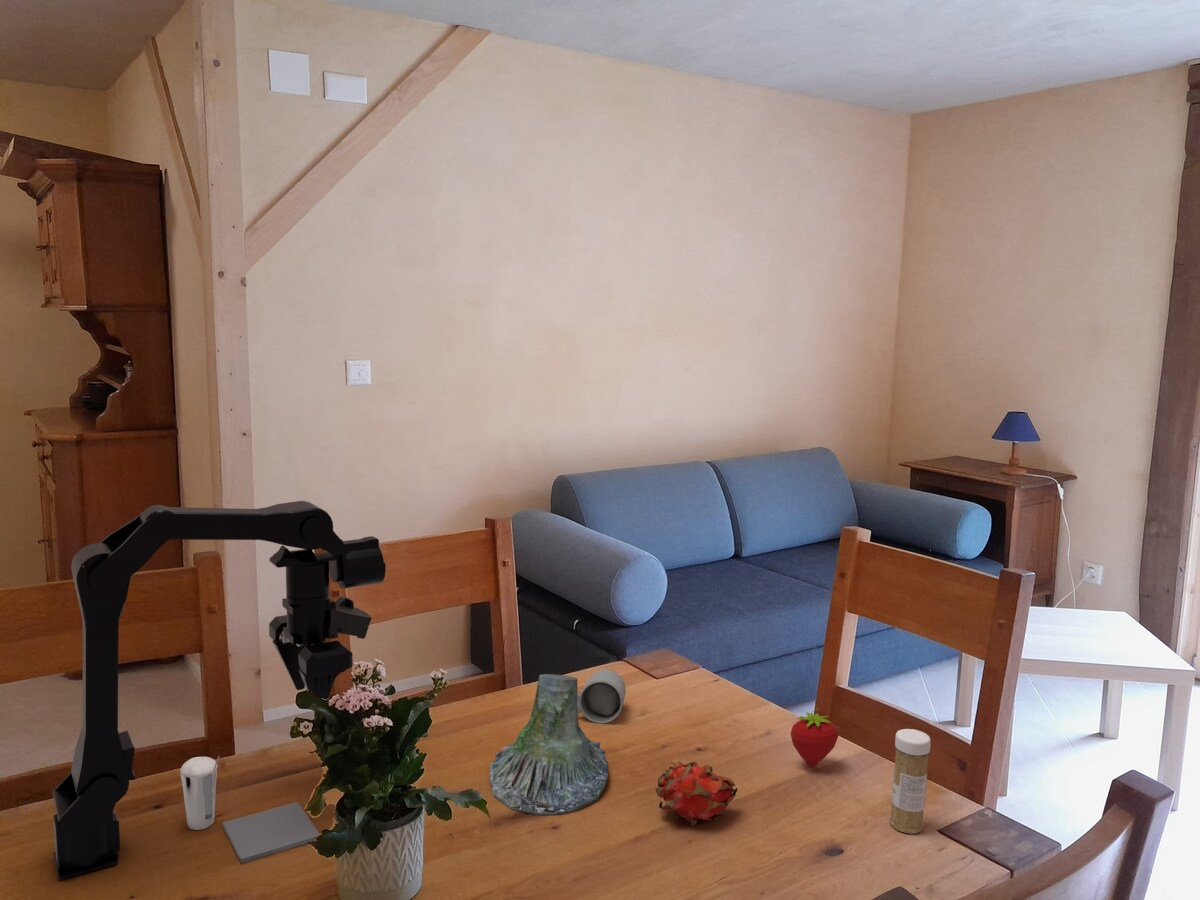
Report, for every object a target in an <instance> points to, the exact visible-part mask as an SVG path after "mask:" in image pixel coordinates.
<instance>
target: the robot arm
mask: <svg viewBox="0 0 1200 900" xmlns="http://www.w3.org/2000/svg"><path fill="white" fill-rule="evenodd" d="M170 540H172V541H173V540H175V541H179V540H180V541H182V540H184V541H185V540H186V541H189V540H190V541H193V540H194V541H197V540H198V541H203V540H204V541H218V540H219V541H264V542H270V543H273V544H276V545H277V544H278V545H281V546H280V547H279V549H278V551H276V552H275V553H274V554H273V555H271V556H270V557H269V560H268V561H269V562H270V563H271V564H272V565H274V566H275V567H276V568H279V569H280V568H285V582H286V583H285V590H286V591H285V592H286V593H285V594H286V598H282V599H281V601H282V603H281V604H282V607H283V608H284V609H285V610H286V615H279V616H275V617H274V618H273V619H272V620H271V621H270V622H269V623H268V633H269V634H268V635H269V637H270V638H271V640H272V644H273V646H274V647H275V649H276V651H277V654H278V655H279V657H280V659H281V661H282V663H283V665H284V667H285V669H286V672H287V674H288V676H289V677H290V679H291V682H292V683H293V685H294V688H295V689H296V690H297V691H302V690H304V689H306V691H307V692H308V691H310V692H312V693H313V694H314V695H316V696H318V697H320V698H323V699H327V698H328V697H329V698H330V696H331V693H332V689H333V685H334V683H335V680H336V679H337V677H338V676H339V675H340V674H341V673H344V672H347V671H348V669H351V668H353V667H354V666H353V665H354V663H353V652H352V651H351V650H350V649H348V648H347V646H345V645H344V644H342V643H341V642H340V641H339V640H333V639H338V638H339V634H341V635H348V636H353V637H356V638H358V639H360V640H361V639H363V640H364V639H366V637H367V633H368V630H369V628H370V625H371V622H372V619H373V618H372V616H371V615H370V614H369V613H367V612H366V611H364V610H362V609H360V608H359V607H355V605H354V601H353V600H352V599H351V598H349V597H346V596H339V598H337V599H336V601H334V600H333V599H332V598H331V596H330V593H331V592H330V580H331V582H332V583H335V584H336V583H337V585H338V586H339V588H340V589H350V588H357V587H363V586H370V585H377V584H381V583H384V579H385V576H386V572H387V571H386V567H387V565H386V562H385V561H384V560H385V559H384V557H383V552H382V550H381V548H380V540H379V538H378V537H375V536H365V537H361V538H358V539H350V540H349V539H348V540H344V539H341V538H340V537H339V535H338V534H337V533H336V532H335V531H334V522H333V520H332V516H331V515H330V514H329V513H328V512H327V510H324V509H322V508H321V507H319V506H317V505H315V504H313V503H312V502H310V501H306V500H296V501H291V502H282V503H277V504H273V505H270V506H269V505H268V506H267V507H262V508H261V507H260V508H234V507H233V508H231V507H230V508H227V507H225V508H224V507H223V508H222V507H221V508H220V507H218V508H217V507H185V506H184V507H183V506H182V507H181V506H180V507H179V506H174V507H173V506H165V505H161V504H155V505H154V504H153V505H151V506H149V507H146V508H145V509H144V510H143V511H142V512H140V514H139V515H137V516H136V517H135V518H133V519H132V520H130V521H129V522H127V523H125V524H124V525H122V526H120V527H119V528H117V529H116V530H114V531H112V532H111V533H110V534H108V535H107V536H106V537H105V538H104V539H102V540H101V541H100V542H95V543H91V544H88V545H85V546H84V547H82V548H81V549H80V550H79V551H78V552H77V553H76V554H74V555H73V558H72V561H71V566H70V569H71V573H72V574H71V575H72V580H73V583H74V584H73V585H74V589H75V594H76V597H77V601H78V605H79V606H78V607H79V610H80V614H81V619H82V723H81V724H82V726H81V730H80V733H79V735H78V739H77V742H76V745H75V748H74V754H73V759H72V763H71V769H70V772H69V773H68V774H67V775H66V776H65V777H64V778H63V780H62V781H61V782H60V783H59V784H58V785H57V786H56V787H54V789H53V791H52V795H53V799H54V807H55V811H56V814H54V815H52V816H53V828H54V829H53V830H54V831H53V832H54V846H55V848H54V849H55V851H54V852H53V857H54V864H55V869H56V875H57V879H58V880H60V881H61V880H62V881H63V880H65V879H69V878H73V877H76V876H80V875H83V874H86V873H90V872H93V871H97V870H100V869H104V868H108V867H112V866H115V865H116V864H118V863H119V857H118V853H119V852H121V835H120V833H121V832H120V820H119V818H118V817H119V816H118V814H117V813H116V812H114V810H115V806H116V804H117V803H118V802H119V801H120V800H121V799H123V798H124V796H126V794H127V793H128V791H129V787H130V786H129V785H130V781H135V780H136V776H135V773H134V771H133V763H134V758H135V751H136V748H135V746H134V743H133V740H132V738H131V736H130V733H129V731H128V730H124V731H122V732H119V624H120V620H121V616H122V613H123V611H124V608H125V605H126V602H127V599H128V598H127V597H128V592H129V588H130V582H131V577H132V576H133V575H134V574H136V573H137V572H138V571H139V570H140V569H142V568H143V566H145V565H146V563H147V562H148V561H149V560H150V559H151V558H153V556H154V555H155V554H156V552H158V551H159V549H160V548H161V547H162V546H163V545H165V543H167V542H168V541H170ZM287 547H290V548H297V549H295V550H289V549H288V548H287ZM318 549H321V550H323V552H316V553H315V552H314V551H313V550H318ZM324 551H325V552H324ZM327 639H329V640H332V641H326V640H327Z"/></svg>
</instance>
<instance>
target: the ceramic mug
mask: <svg viewBox="0 0 1200 900" xmlns="http://www.w3.org/2000/svg"><path fill="white" fill-rule="evenodd" d="M625 683H626V682H625V681H624V679H623V677H622V676H621V675H620V674H619V673H618V672H616V671H614V670H611V669H599V670H597V671H595V672H594V673H592V674H591V675H590V676H589V677H588V679H587V680H586V682H585V684H584V686H583V687H582V689H581V691H580V693H579V694H577V709H578V714H580V713H581V714H583V716H584V717H585V718H586V719H587V720H589V721H591V722H593V723H595V724H609V723H611V722H612V721H614V720H616V719H617V718H618V717H619V716H620V714H621V712H622V709H623V705H624V702H625V699H626V693H627V690H626V685H625Z"/></svg>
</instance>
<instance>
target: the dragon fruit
mask: <svg viewBox="0 0 1200 900" xmlns="http://www.w3.org/2000/svg"><path fill="white" fill-rule="evenodd" d="M672 765H673V766H669V769H666V770H665V772H663V773H662V774H661V775H660V776H659V777H658V778H657V786H658V787H657V788H656V787H654V788H655V789H654V790H655V792H656V795H657V796H658V797H659V798H663V801H665V804H664V805H663V801H662V800H661V801H660V802H659V804H658V805H659V806H658V808H659V809H661V810H662V811H663V812H671V811H674V814H675V816H676V817H677V818H678V819H680V818H681V817H683V818H684V819H685V820H686V821H687V823H689V824H690V826H694V825H696V823H697V822H698V820H704V821H708V822H710V823H712V822H713V823H714V821H717V820H718V819H719V818H722V816H723V813H721V812H723V811H724V810H726V808H727V807H729V804H730V803H731V802H732V801H733V800H734V799H735V797H736V795H737V792H738V787H735V786H736V784H735V783H734V781H733V780H732V779H731V778H729V777H727V776H722V775H717V774H716V773H714V772H713V767H712V766H710V765H708V764H706V765H704V766H702V767H700V766H699V764H698V762H697V761H693V762H692V761H691V762H689V763H688V764H685V765H684V764H683V763H682V762H680V761H679V762H678V761H677V762H674V763H672ZM734 787H735V789H734Z"/></svg>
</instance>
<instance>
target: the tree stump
mask: <svg viewBox="0 0 1200 900" xmlns="http://www.w3.org/2000/svg"><path fill="white" fill-rule="evenodd" d="M578 686H579V685H578V678H577V677H574V676H570V675H569V676H568V675H563V674H553V673H552V674H550V673H545V674H544V673H543V674H539V675H538V680H537V688H536V692H535V697H534V702H533V706H532V711H531V714H530V718H529V720H528V722H527V723H526V724H525V726H523V728H521V730H520V731H519V733H518V735H517V736H516V739H515V740H514V742H513V743H510V744H508V745H505V746H504V747H503V748H502V749H501V750H499V751H498V752H496V753H495V754H494V757H495V760H493V761H492V762H490V764H489V766H490V770H489V771H490V772H489V782H490V786H491V788H492V789H491V790H492V791H491V792H492V797H494V798H495V799H496V800H497V801H499V802H500V803H501V804H503V805H505V807H507V808H509V809H510V810H512V811H517V812H522V813H526V814H530V815H537V816H558V815H567V814H569V813H573V812H577V811H579V810H582V809H583V808H585V807H587V806H589V805H591V804H593V803H596V802H598V800H599V798H600V796H601V795H602V793H603V791H604V789H605V787H606V785H607V781H608V778H609V762H608V761H607V757H606V755H605V754H606V750H605V749H602V748H601V742H594V741H592V740H590V739H589V738H588V737H587V736H586V734H585V732H584V731H583V730H582V729H581V727H580V724H579V716H578V715H579V713H578V709H577V695H578Z"/></svg>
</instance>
